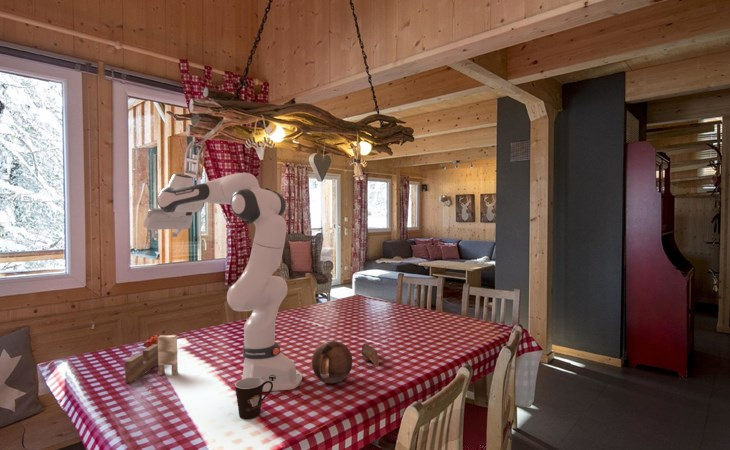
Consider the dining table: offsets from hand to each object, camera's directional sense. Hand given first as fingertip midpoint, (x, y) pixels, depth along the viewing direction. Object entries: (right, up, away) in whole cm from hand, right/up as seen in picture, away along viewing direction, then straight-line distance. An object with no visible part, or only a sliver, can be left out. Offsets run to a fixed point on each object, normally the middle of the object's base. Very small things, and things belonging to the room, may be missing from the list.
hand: (164, 237), depth 178 cm
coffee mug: (+54, -54, -51) cm, 91 cm away
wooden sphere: (+76, -53, -27) cm, 97 cm away
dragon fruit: (-8, -53, +10) cm, 55 cm away
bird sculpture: (+91, -53, -7) cm, 105 cm away
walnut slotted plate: (-1, -54, -15) cm, 56 cm away
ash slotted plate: (+10, -54, -18) cm, 57 cm away
